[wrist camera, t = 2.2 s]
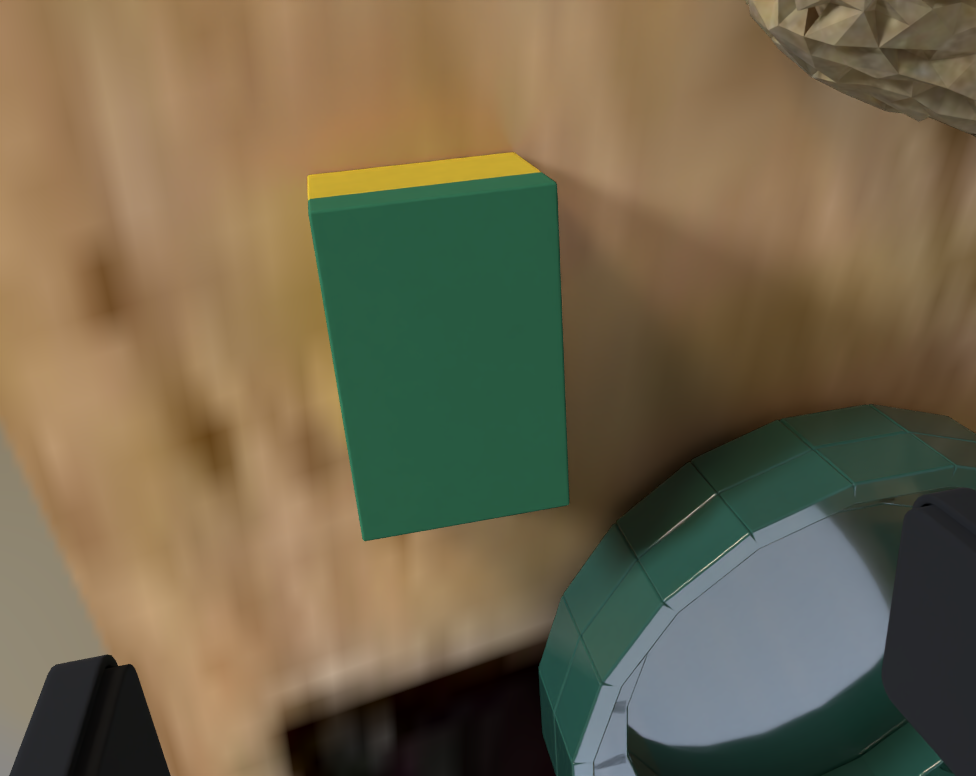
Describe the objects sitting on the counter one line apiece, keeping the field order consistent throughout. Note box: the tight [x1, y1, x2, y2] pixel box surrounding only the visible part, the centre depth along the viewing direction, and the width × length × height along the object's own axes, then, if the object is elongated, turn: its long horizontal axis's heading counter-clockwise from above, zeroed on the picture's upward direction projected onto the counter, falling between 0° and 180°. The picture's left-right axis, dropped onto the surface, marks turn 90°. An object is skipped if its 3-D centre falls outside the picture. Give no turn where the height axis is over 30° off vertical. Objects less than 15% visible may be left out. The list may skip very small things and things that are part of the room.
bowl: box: [539, 404, 976, 776], centre depth 24 cm, size 16×16×4 cm
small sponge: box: [307, 152, 569, 541], centre depth 18 cm, size 7×4×4 cm, turn 5°
